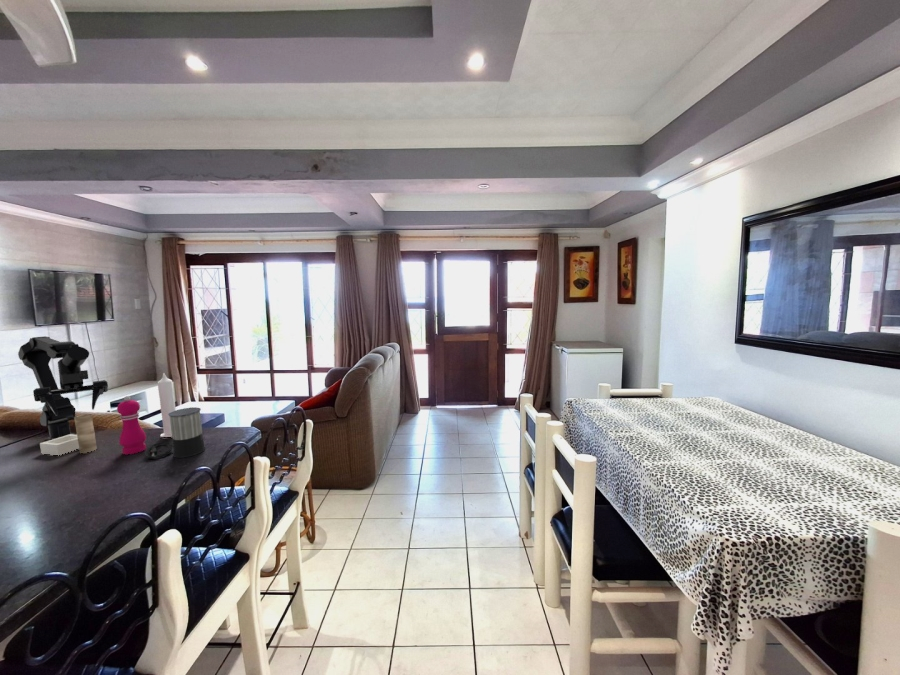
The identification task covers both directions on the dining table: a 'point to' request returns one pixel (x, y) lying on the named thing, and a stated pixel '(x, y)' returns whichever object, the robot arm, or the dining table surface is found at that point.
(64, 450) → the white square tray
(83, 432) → the birch peg
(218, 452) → the dining table surface
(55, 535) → the dining table surface
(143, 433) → the pepper mill
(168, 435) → the candle
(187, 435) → the milk frother
